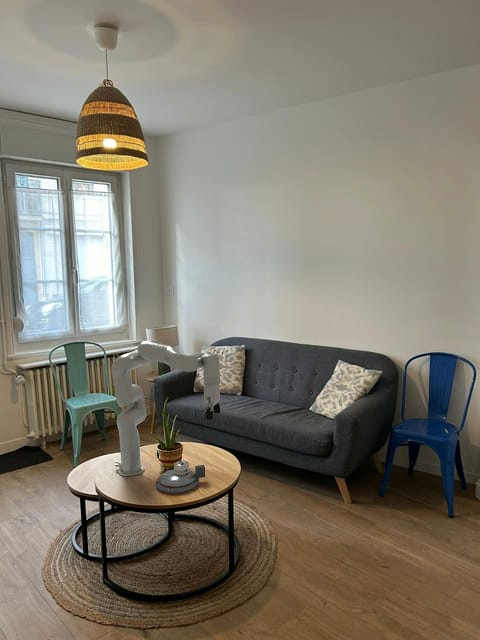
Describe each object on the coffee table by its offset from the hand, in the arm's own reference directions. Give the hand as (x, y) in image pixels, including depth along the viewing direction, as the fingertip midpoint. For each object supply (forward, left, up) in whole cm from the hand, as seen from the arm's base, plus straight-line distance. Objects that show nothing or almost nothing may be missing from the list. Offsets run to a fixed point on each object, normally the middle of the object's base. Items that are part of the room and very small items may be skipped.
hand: (213, 416), depth 222 cm
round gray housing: (-14, -8, -29) cm, 33 cm away
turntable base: (-16, -8, -31) cm, 36 cm away
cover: (-16, -3, -27) cm, 32 cm away
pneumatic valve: (-27, +7, -31) cm, 42 cm away
